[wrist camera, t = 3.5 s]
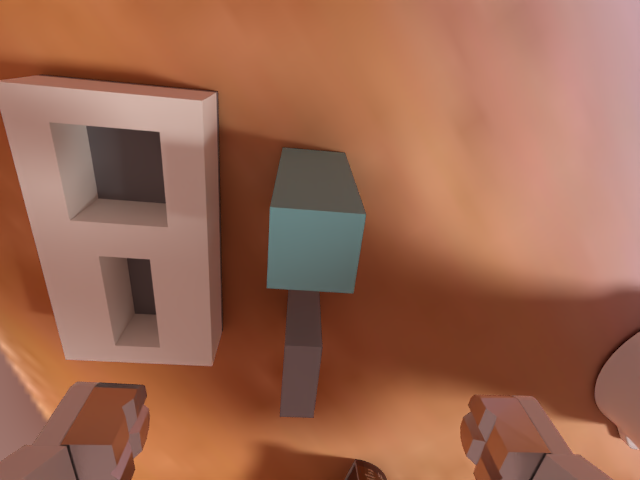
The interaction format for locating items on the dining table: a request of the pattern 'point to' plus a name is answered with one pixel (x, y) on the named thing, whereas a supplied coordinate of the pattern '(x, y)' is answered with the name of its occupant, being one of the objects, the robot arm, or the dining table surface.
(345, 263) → the square peg
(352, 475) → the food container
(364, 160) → the dining table surface
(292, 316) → the flat tab
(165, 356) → the socket block
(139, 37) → the dining table surface
